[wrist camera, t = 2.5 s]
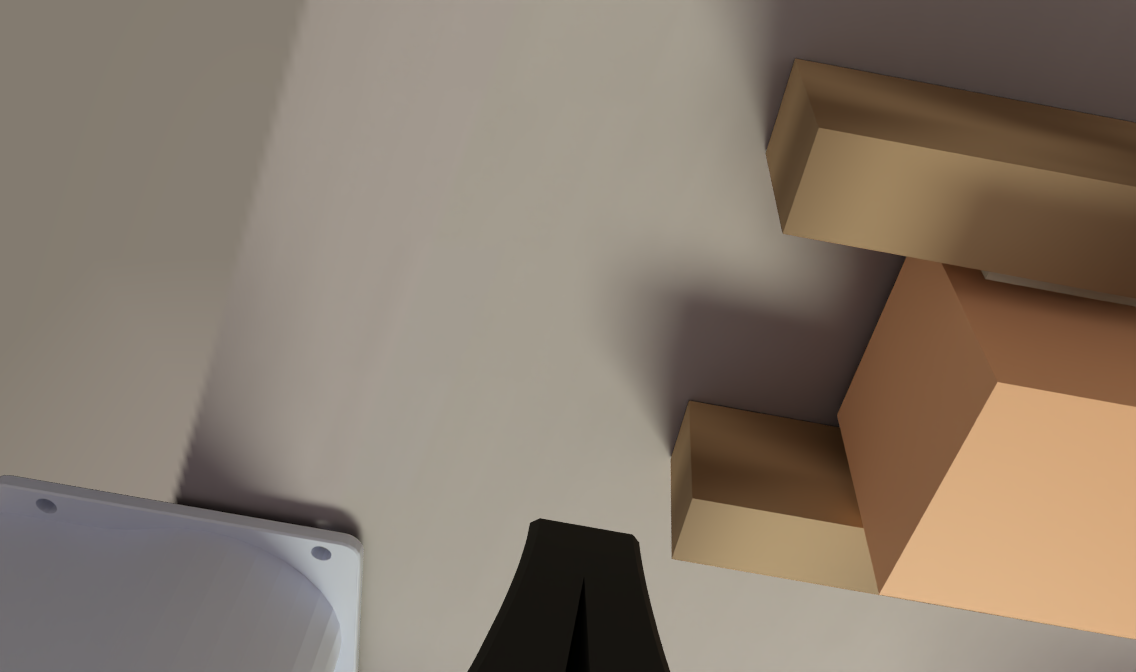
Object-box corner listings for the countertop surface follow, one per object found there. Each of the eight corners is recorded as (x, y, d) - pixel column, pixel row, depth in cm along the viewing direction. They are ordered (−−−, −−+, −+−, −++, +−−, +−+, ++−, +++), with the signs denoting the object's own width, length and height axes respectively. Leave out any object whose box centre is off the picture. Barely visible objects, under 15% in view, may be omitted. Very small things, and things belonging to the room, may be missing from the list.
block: (837, 415, 20) (878, 594, 16) (922, 221, 17) (997, 382, 13) (1053, 453, 20) (1146, 640, 16) (1172, 267, 17) (1319, 440, 13)
